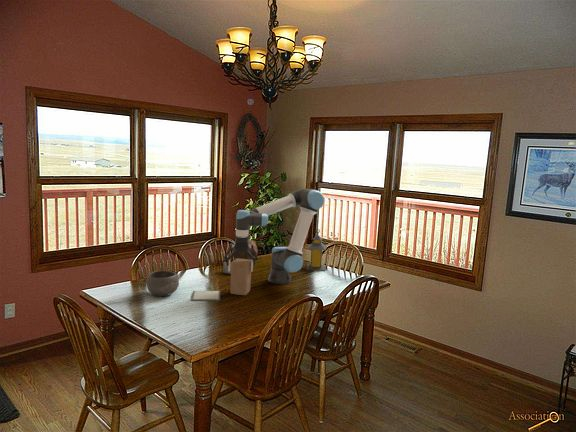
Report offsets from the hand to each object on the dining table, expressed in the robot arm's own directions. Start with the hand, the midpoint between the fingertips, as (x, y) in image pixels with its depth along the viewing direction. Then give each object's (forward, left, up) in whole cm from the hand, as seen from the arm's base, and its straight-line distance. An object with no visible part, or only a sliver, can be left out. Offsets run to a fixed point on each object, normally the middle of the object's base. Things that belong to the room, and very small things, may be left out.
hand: (240, 271), depth 253 cm
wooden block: (0, 0, -14) cm, 14 cm away
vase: (-6, -72, -14) cm, 74 cm away
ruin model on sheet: (+5, -42, -14) cm, 45 cm away
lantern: (-59, -56, -14) cm, 83 cm away
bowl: (+45, +3, -14) cm, 47 cm away
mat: (+20, +6, -14) cm, 25 cm away
